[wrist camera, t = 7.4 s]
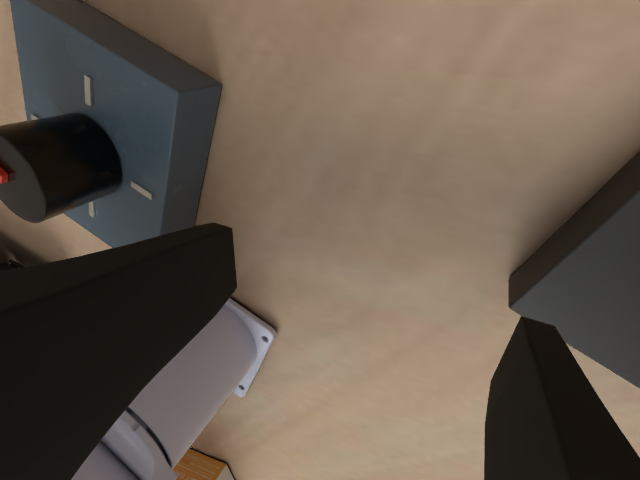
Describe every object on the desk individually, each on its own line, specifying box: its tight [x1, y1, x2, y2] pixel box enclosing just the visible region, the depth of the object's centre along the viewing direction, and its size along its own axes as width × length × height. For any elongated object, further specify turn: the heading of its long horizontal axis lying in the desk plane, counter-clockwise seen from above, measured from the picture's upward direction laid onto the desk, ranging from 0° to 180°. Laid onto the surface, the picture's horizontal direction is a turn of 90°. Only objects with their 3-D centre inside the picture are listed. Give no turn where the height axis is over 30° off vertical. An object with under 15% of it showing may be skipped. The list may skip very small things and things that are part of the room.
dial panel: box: [10, 0, 222, 248], centre depth 20 cm, size 12×10×3 cm
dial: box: [0, 113, 122, 223], centre depth 18 cm, size 4×4×4 cm
